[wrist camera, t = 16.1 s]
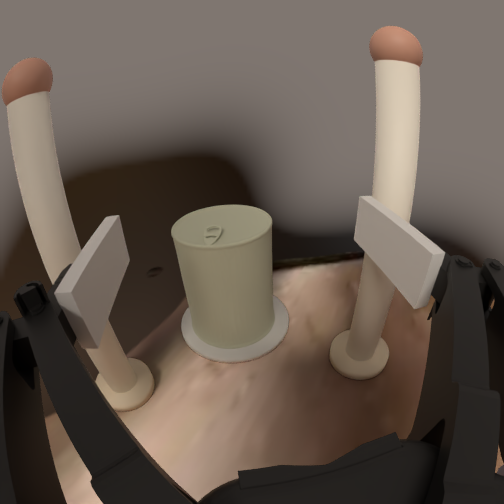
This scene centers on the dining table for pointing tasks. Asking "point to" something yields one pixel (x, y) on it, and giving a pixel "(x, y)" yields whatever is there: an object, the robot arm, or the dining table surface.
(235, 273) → the can
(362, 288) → the gate
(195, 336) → the coaster
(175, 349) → the dining table surface
